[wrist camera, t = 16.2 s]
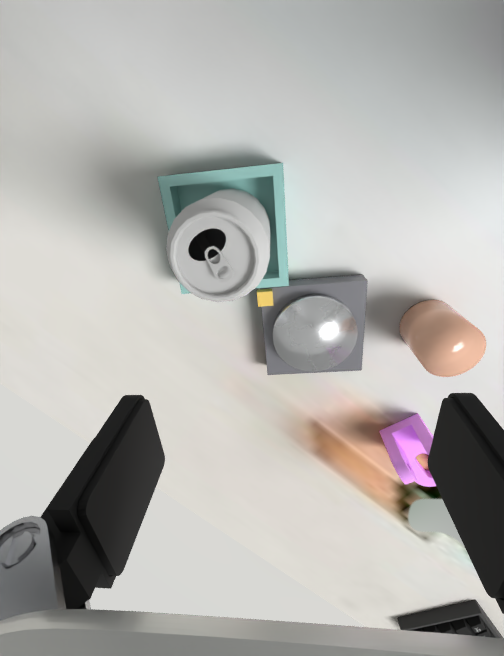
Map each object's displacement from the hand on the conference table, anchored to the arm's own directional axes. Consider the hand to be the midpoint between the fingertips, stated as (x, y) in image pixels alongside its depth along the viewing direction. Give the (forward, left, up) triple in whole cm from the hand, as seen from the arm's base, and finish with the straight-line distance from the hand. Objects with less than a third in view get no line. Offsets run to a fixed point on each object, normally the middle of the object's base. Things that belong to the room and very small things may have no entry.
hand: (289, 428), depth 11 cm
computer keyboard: (-38, +95, -27) cm, 106 cm away
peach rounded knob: (-16, +10, -26) cm, 33 cm away
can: (+4, -2, -26) cm, 26 cm away
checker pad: (-3, +9, -24) cm, 26 cm away
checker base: (-3, +9, -26) cm, 28 cm away
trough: (+5, -2, -26) cm, 27 cm away
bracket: (-18, +31, -27) cm, 44 cm away
